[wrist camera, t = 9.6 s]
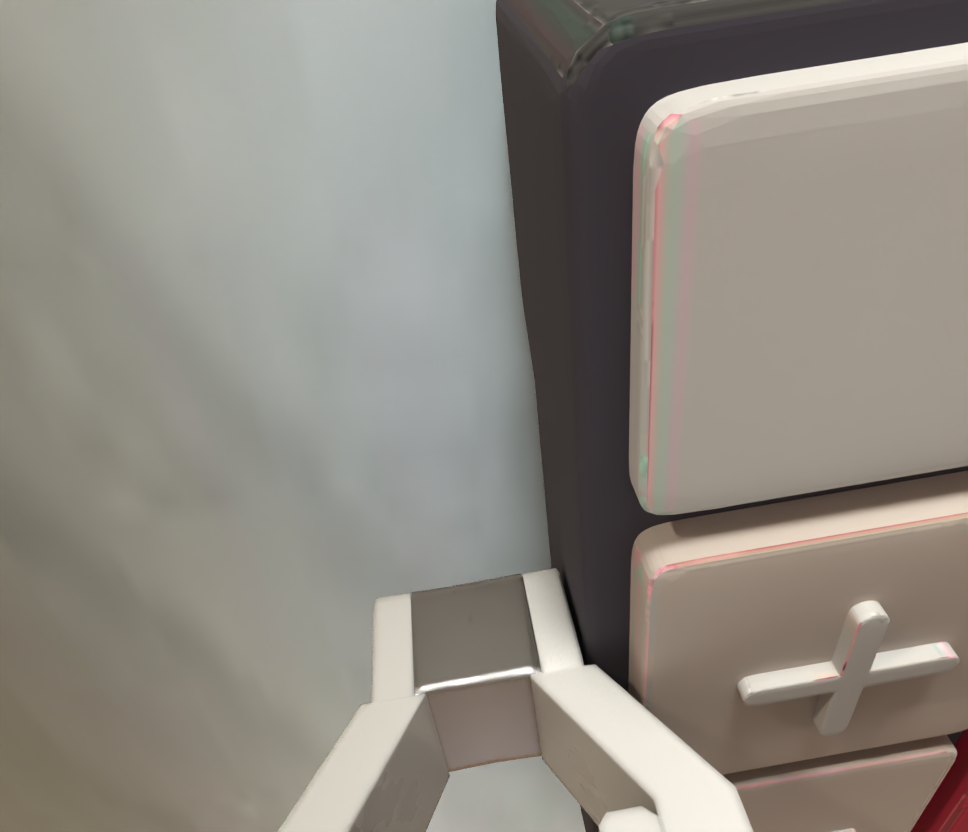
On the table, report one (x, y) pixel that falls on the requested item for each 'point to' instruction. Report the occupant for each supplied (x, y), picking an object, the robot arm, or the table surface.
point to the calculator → (758, 380)
